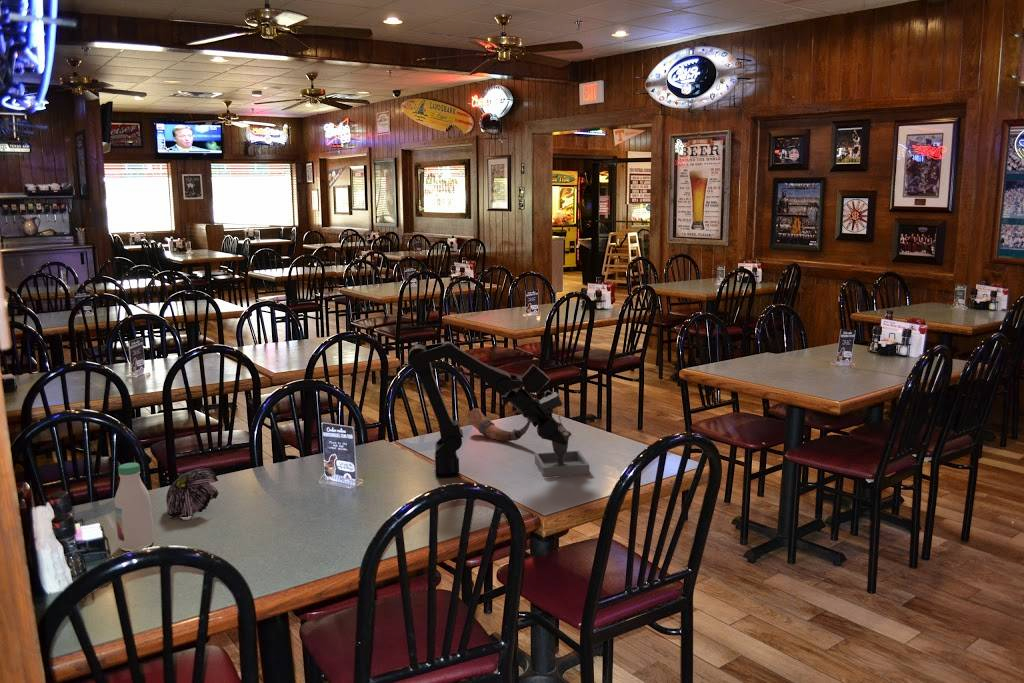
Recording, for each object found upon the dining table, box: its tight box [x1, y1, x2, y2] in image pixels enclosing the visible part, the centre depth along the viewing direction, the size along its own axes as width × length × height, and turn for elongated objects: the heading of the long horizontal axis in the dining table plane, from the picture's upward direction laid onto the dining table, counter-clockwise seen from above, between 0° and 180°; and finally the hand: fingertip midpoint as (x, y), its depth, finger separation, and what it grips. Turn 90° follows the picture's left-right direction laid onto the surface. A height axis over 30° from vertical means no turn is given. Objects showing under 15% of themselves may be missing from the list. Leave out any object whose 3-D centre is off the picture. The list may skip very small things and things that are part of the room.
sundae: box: [551, 415, 572, 466], centre depth 244 cm, size 7×7×15 cm
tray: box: [534, 450, 590, 478], centre depth 246 cm, size 14×14×3 cm
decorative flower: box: [165, 467, 219, 518], centre depth 218 cm, size 15×12×15 cm
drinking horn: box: [465, 407, 532, 442], centre depth 274 cm, size 5×29×10 cm, turn 46°
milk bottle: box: [114, 462, 155, 550], centre depth 195 cm, size 8×8×20 cm
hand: (563, 439), depth 244 cm, fingers open, 9 cm apart
